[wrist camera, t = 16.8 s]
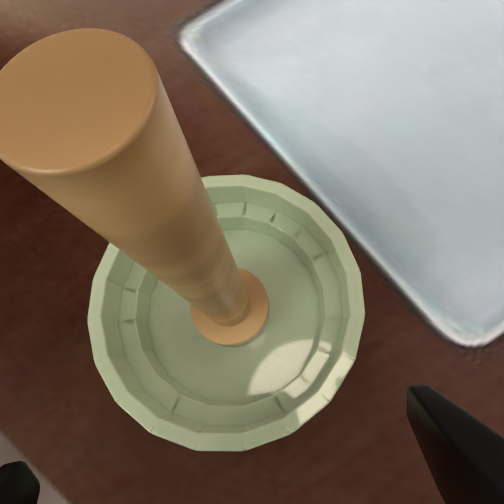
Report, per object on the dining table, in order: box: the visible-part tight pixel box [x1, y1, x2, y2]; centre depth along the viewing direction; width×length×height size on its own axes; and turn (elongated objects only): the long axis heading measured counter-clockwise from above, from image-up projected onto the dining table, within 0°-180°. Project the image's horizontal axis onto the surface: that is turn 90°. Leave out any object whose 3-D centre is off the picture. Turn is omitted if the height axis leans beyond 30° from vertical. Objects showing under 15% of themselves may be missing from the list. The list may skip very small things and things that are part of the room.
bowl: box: [88, 175, 365, 451], centre depth 16 cm, size 11×11×4 cm
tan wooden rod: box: [0, 28, 269, 347], centre depth 11 cm, size 4×4×14 cm
